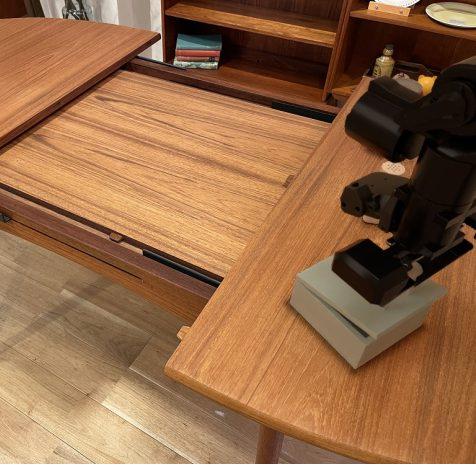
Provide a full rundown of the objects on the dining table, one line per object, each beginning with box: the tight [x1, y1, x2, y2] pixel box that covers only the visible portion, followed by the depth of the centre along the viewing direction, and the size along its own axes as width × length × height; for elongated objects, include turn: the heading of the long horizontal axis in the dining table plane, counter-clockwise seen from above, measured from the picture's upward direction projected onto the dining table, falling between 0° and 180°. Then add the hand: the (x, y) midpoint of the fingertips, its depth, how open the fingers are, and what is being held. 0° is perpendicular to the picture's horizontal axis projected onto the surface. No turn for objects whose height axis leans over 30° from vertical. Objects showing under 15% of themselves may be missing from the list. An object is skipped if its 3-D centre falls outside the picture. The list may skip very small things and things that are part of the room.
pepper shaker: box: [362, 160, 406, 225], centre depth 75 cm, size 4×4×10 cm
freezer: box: [289, 278, 435, 370], centre depth 64 cm, size 12×12×5 cm
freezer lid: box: [295, 253, 448, 340], centre depth 60 cm, size 12×12×5 cm
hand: (395, 294), depth 58 cm, fingers closed on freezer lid, 5 cm apart
